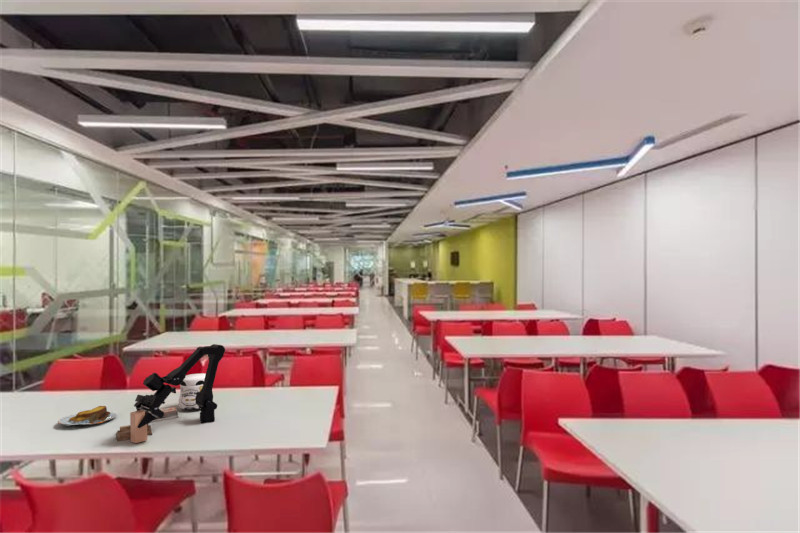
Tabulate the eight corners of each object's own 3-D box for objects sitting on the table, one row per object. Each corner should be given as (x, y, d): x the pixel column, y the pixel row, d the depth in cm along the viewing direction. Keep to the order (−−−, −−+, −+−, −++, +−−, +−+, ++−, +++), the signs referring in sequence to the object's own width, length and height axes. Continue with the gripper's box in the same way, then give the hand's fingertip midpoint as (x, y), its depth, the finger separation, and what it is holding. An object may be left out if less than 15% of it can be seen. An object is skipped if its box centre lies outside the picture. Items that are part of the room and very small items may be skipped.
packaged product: (175, 405, 245) (178, 409, 237) (175, 413, 245) (178, 418, 237) (137, 411, 235) (139, 416, 227) (137, 420, 235) (139, 425, 227)
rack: (150, 427, 223) (150, 421, 223) (152, 434, 212) (151, 428, 212) (117, 432, 215) (117, 426, 215) (117, 441, 204) (117, 434, 204)
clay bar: (142, 437, 207) (141, 409, 207) (147, 439, 204) (146, 411, 204) (130, 441, 203) (130, 412, 203) (135, 443, 200) (135, 414, 200)
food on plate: (61, 420, 237) (61, 407, 237) (116, 411, 250) (116, 400, 250) (55, 434, 215) (55, 420, 215) (116, 424, 229) (116, 411, 229)
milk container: (183, 414, 242) (183, 381, 242) (174, 407, 255) (174, 376, 255) (216, 408, 253) (216, 376, 253) (206, 401, 266) (206, 371, 266)
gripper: (137, 384, 213) (112, 413, 204) (157, 390, 202) (131, 421, 193) (155, 396, 219) (131, 426, 210) (174, 403, 208) (150, 434, 199)
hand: (135, 426), depth 203 cm, fingers closed on clay bar, 5 cm apart
